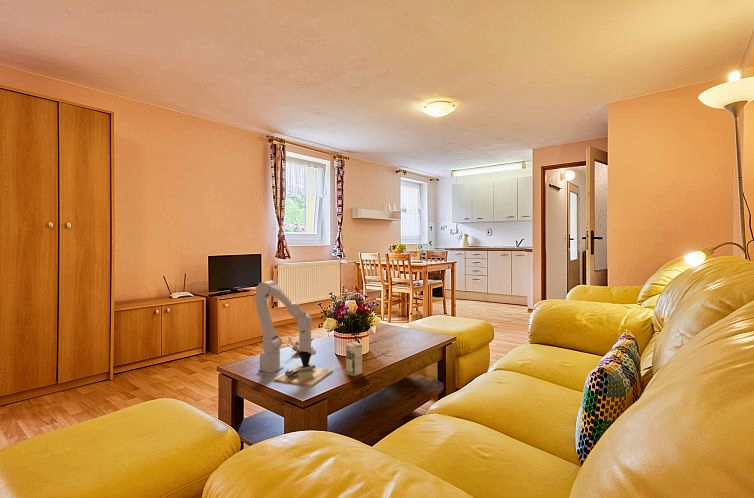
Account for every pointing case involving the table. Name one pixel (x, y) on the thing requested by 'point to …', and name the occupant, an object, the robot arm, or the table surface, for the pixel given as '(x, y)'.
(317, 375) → the pintle board
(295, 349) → the magic lamp
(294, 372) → the steel link
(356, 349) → the syrup box
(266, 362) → the robot arm
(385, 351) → the table surface
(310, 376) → the keeper
